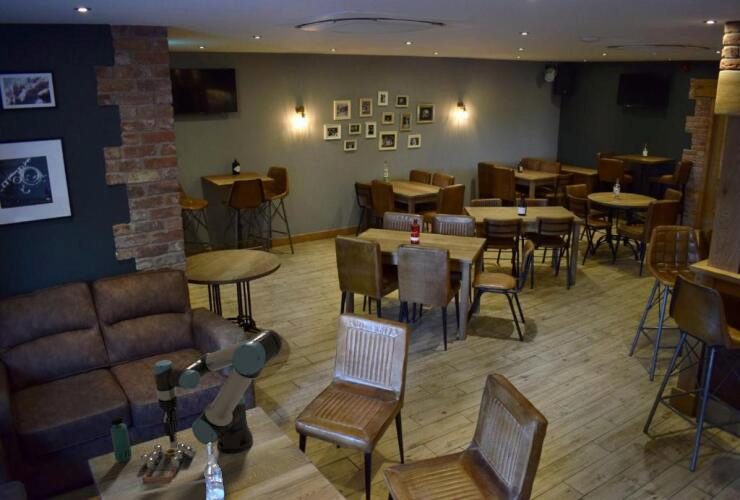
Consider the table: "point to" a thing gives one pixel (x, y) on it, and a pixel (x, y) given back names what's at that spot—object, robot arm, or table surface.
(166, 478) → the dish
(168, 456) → the nut
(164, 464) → the mat
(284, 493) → the table surface
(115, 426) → the beverage bottle
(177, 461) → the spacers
